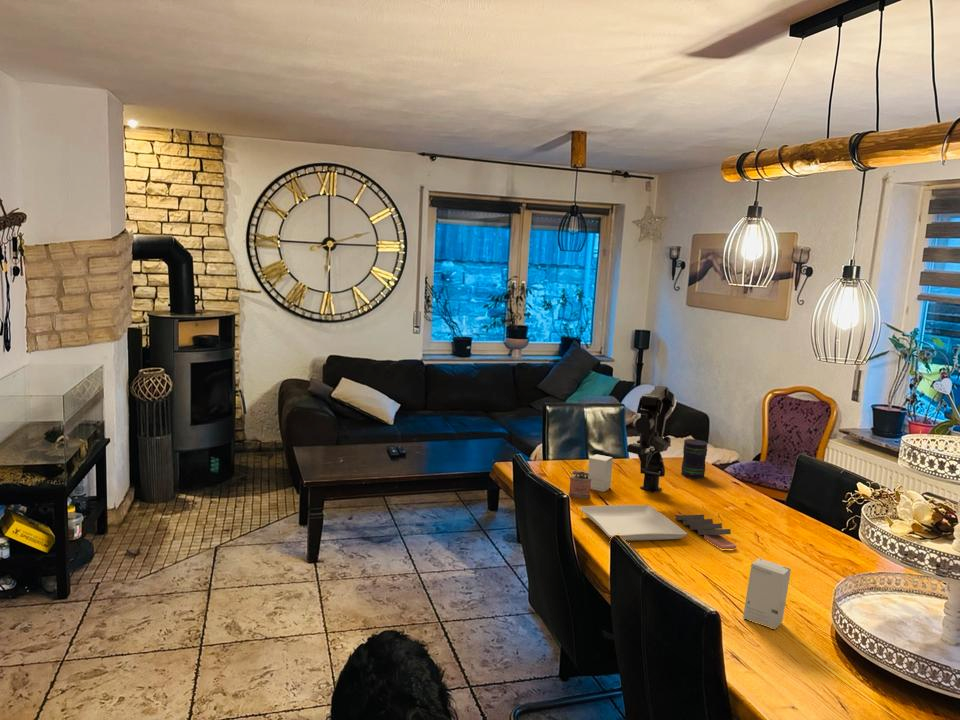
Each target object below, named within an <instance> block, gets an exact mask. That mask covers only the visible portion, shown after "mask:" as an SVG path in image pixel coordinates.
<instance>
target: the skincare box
mask: <svg viewBox="0 0 960 720" xmlns="http://www.w3.org/2000/svg"><path fill="white" fill-rule="evenodd" d="M791 571H792V569H791V568H790V567H787V566H784V565H781V564H778V563H777V562H776V563H775V562H773V561H769V560H766V559H763V558H760V557H759V558H757V559H756V560H755V561H753V562H752V563H751V566H750V572H749V577H748V578H749V579H748V583H747V584H748V585H747V591H746V596H745V601H744V602H745V603H744V610H743V615H742V618H743V620H744V619H747V620H751V621H754V622H757V623H760V624H763V625H766V626H769V627H771V628H773V629H776V628H777V627H778V626H779V625H780V624H781V622H782V623H783V619H784V614H785V609H786V608H785V607H786V603H787V595H788V591H789V590H788V589H789V583H790V578H791V577H790V576H791V573H792V572H791ZM747 620H746V621H747ZM781 625H782V624H781ZM781 625H780V626H781ZM780 626H779V627H780ZM779 627H778V628H779ZM778 628H777V629H778ZM777 629H776V630H777Z"/></svg>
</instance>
